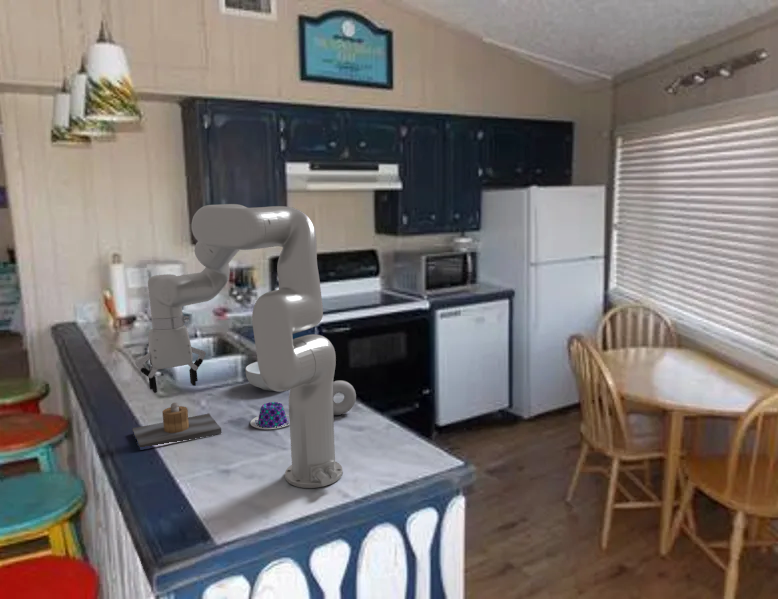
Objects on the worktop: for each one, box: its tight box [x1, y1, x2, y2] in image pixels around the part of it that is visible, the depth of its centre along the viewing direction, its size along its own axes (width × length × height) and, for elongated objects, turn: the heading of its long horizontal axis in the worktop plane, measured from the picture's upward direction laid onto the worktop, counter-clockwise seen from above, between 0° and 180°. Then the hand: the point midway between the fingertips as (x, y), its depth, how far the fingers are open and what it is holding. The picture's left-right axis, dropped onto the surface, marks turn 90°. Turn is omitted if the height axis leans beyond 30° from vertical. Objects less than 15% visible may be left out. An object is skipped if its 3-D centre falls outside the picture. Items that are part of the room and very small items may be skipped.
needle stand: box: [132, 402, 223, 447], centre depth 160 cm, size 13×20×8 cm, turn 120°
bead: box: [162, 405, 189, 433], centre depth 160 cm, size 6×6×5 cm
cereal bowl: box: [245, 361, 273, 391], centre depth 198 cm, size 17×17×7 cm
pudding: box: [250, 401, 290, 430], centre depth 167 cm, size 12×12×5 cm
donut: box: [333, 380, 357, 416], centre depth 171 cm, size 10×4×10 cm, turn 111°
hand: (174, 387), depth 158 cm, fingers open, 9 cm apart
